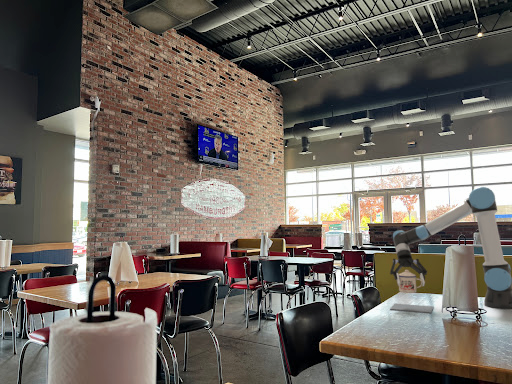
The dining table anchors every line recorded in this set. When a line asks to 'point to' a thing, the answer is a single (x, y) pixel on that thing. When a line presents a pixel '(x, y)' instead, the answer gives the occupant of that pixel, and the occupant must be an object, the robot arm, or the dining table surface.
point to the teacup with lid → (408, 282)
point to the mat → (412, 308)
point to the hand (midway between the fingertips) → (411, 284)
